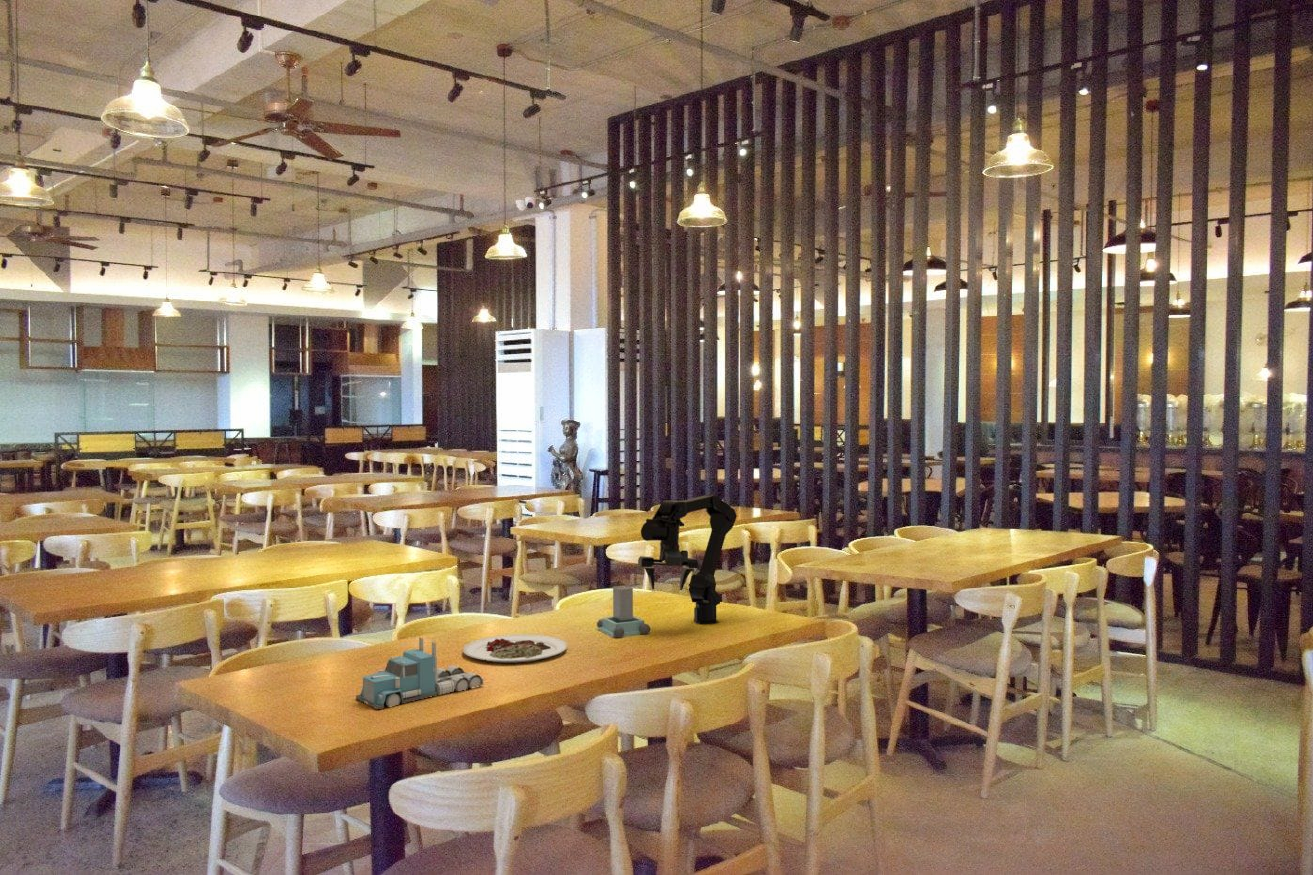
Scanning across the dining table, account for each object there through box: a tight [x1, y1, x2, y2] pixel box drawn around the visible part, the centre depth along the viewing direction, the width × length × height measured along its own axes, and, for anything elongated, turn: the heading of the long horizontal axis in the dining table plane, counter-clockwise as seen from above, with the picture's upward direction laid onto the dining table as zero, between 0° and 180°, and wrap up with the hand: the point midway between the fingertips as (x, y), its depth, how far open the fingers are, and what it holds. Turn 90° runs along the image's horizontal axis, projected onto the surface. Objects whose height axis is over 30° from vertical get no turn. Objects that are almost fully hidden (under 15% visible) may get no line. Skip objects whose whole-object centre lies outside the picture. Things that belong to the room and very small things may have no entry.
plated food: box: [462, 633, 568, 664], centre depth 279 cm, size 30×30×3 cm
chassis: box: [596, 615, 651, 639], centre depth 303 cm, size 12×14×4 cm
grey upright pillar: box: [612, 585, 634, 623], centre depth 303 cm, size 4×5×13 cm
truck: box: [355, 630, 484, 711], centre depth 238 cm, size 12×29×15 cm, turn 132°
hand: (667, 589), depth 304 cm, fingers open, 9 cm apart
